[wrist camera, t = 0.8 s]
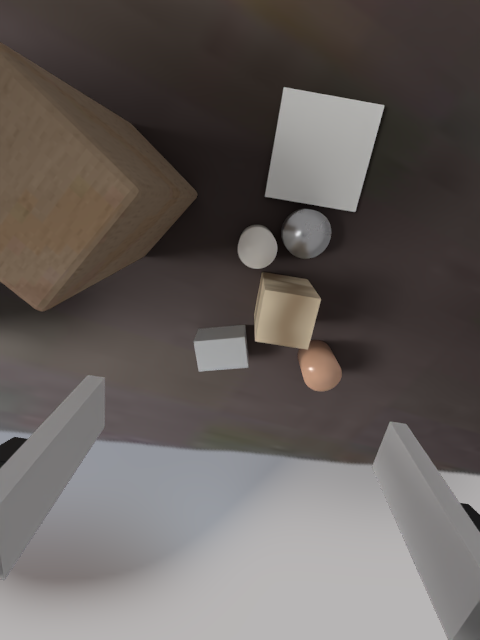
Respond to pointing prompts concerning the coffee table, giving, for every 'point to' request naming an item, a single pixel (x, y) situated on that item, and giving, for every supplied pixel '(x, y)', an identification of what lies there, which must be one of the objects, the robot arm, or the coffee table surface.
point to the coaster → (322, 149)
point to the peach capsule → (319, 366)
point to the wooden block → (74, 187)
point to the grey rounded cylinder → (257, 247)
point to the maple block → (285, 311)
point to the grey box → (221, 348)
